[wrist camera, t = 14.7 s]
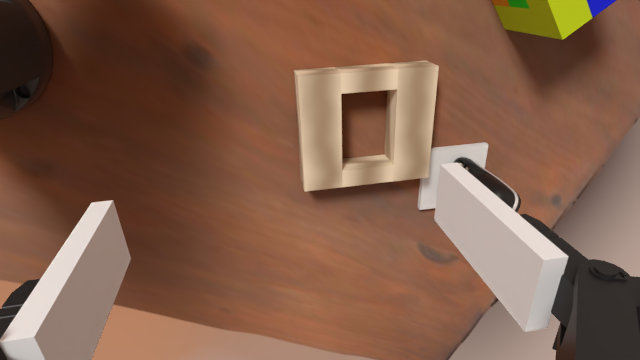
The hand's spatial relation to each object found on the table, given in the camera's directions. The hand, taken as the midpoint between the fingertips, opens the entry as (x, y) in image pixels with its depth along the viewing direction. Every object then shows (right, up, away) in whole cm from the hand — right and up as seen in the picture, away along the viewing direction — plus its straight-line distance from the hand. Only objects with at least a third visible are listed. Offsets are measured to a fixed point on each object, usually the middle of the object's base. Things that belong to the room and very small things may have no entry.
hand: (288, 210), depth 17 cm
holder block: (+6, +8, +34) cm, 36 cm away
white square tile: (+20, +2, +40) cm, 45 cm away
